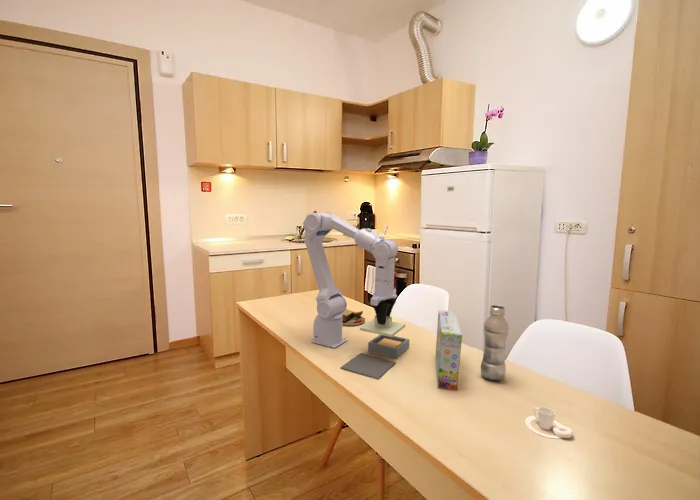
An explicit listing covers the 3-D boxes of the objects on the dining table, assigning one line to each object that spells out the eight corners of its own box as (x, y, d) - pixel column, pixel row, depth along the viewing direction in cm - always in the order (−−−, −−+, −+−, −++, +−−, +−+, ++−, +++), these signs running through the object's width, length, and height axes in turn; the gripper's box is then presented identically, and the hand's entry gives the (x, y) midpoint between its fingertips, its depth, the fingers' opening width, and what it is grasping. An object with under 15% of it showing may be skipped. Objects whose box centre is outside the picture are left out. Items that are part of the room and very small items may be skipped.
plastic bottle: (504, 374, 100) (509, 305, 98) (506, 385, 94) (511, 311, 92) (479, 370, 103) (484, 302, 100) (480, 381, 96) (485, 309, 94)
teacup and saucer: (579, 440, 73) (581, 422, 72) (545, 445, 71) (547, 426, 71) (547, 416, 82) (549, 399, 81) (516, 419, 80) (518, 402, 79)
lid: (359, 331, 109) (360, 318, 108) (374, 321, 118) (375, 309, 118) (391, 338, 104) (392, 324, 103) (405, 327, 113) (405, 314, 112)
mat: (340, 368, 102) (340, 367, 102) (360, 354, 112) (360, 352, 112) (378, 379, 96) (378, 378, 96) (396, 363, 106) (396, 361, 106)
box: (368, 351, 114) (368, 342, 114) (381, 341, 123) (381, 333, 123) (397, 358, 109) (397, 349, 109) (409, 347, 118) (409, 339, 118)
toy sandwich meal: (355, 329, 135) (355, 317, 135) (325, 323, 142) (325, 311, 141) (370, 320, 146) (370, 309, 145) (342, 315, 153) (342, 304, 152)
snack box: (459, 391, 91) (463, 334, 89) (437, 388, 92) (440, 332, 90) (453, 357, 112) (455, 310, 110) (434, 355, 113) (437, 308, 111)
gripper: (386, 285, 101) (385, 332, 102) (405, 277, 113) (404, 318, 115) (364, 282, 104) (363, 327, 106) (385, 274, 117) (383, 315, 118)
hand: (383, 322), depth 111 cm, fingers closed on lid, 2 cm apart
